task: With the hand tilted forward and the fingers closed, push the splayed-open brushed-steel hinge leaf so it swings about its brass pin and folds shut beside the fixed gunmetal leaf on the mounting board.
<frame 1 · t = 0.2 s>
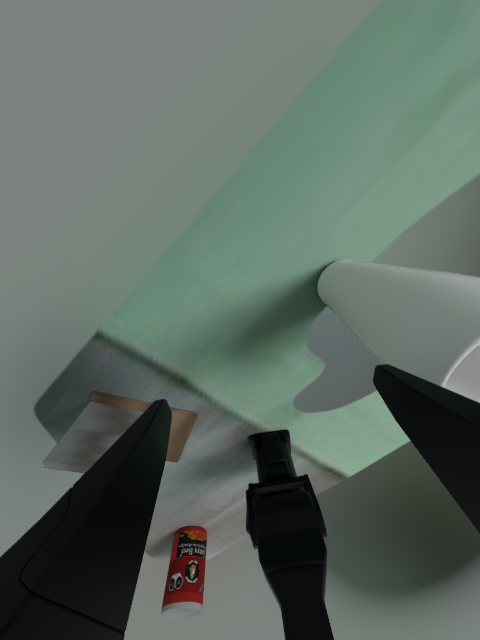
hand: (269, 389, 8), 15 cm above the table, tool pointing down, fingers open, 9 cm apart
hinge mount: (152, 420, 30), on the table
canned food: (191, 531, 48), on the table
white tapered cylinder: (337, 281, 22), on the table
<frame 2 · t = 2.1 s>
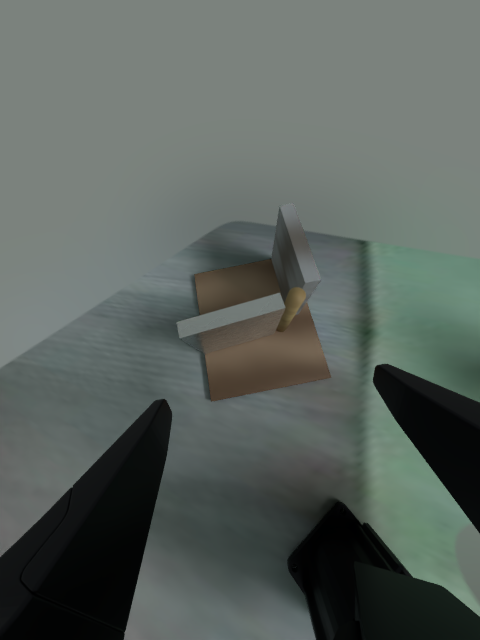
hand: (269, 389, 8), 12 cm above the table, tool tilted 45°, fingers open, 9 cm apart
swinging leaf: (235, 329, 17), point 5 cm above the table, hinge at 95.0°
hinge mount: (280, 328, 22), on the table
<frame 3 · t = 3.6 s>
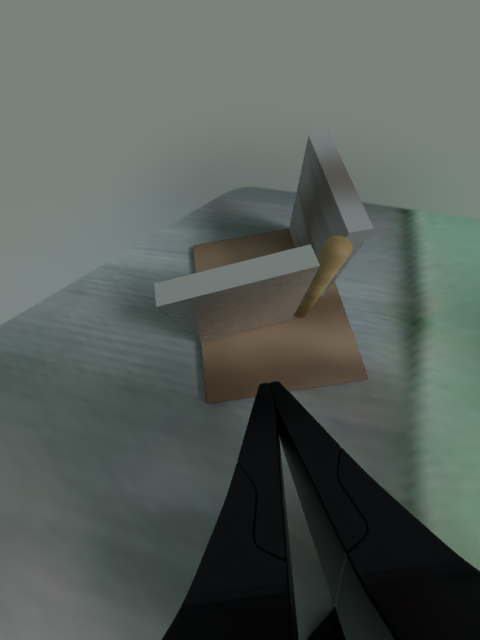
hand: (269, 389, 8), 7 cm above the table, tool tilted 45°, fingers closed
swinging leaf: (241, 306, 12), point 5 cm above the table, hinge at 95.0°
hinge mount: (298, 313, 17), on the table
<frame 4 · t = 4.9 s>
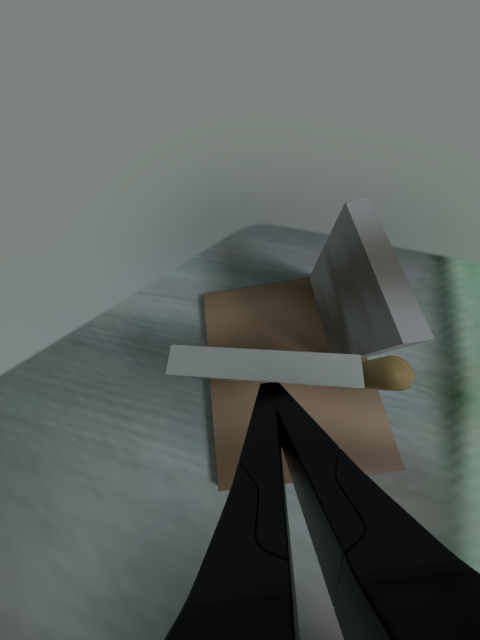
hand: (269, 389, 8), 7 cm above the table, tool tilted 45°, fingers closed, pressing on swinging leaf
swinging leaf: (259, 371, 11), point 5 cm above the table, hinge at 78.5°, touching gripper
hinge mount: (321, 379, 15), on the table
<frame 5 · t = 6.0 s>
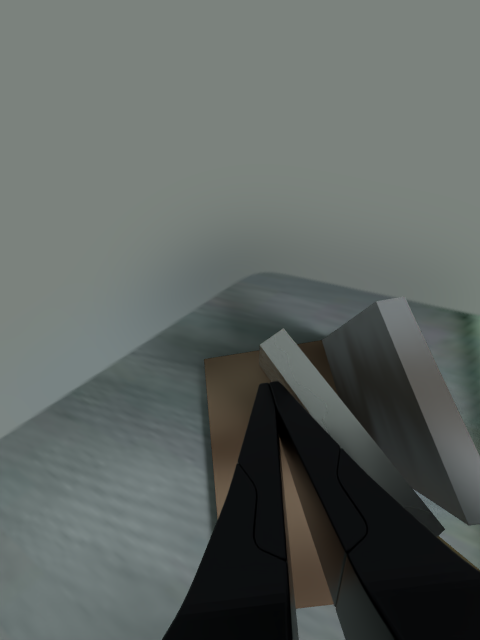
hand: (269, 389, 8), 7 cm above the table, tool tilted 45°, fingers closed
swinging leaf: (310, 409, 10), point 5 cm above the table, hinge at 25.7°, touching gripper
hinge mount: (339, 465, 13), on the table
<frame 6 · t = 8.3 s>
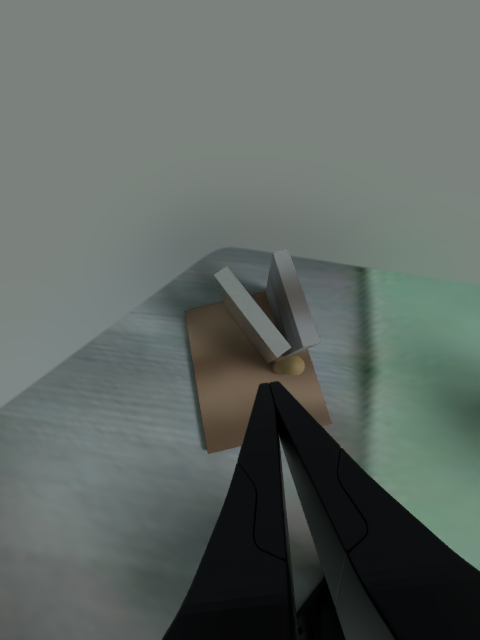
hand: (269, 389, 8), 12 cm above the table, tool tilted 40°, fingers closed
swinging leaf: (250, 322, 17), point 5 cm above the table, hinge at 22.6°
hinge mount: (277, 368, 21), on the table
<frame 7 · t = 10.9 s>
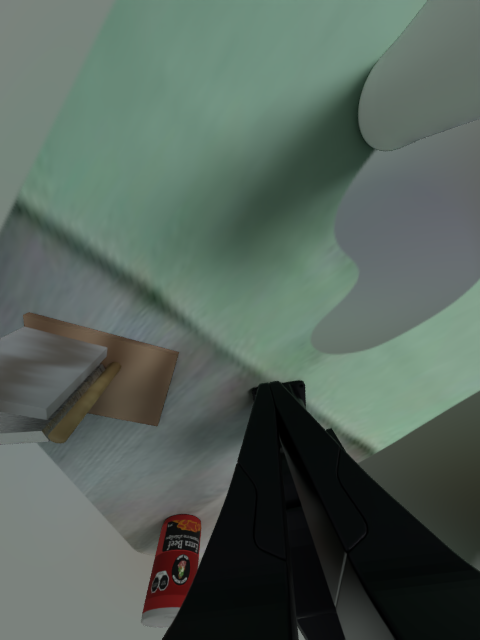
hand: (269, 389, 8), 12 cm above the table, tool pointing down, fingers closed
swinging leaf: (38, 398, 18), point 5 cm above the table, hinge at 22.6°
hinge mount: (118, 362, 22), on the table
canned food: (182, 521, 40), on the table
white tapered cylinder: (390, 106, 14), on the table
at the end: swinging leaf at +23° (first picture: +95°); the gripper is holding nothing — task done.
